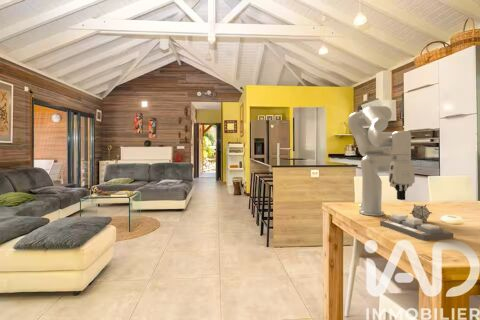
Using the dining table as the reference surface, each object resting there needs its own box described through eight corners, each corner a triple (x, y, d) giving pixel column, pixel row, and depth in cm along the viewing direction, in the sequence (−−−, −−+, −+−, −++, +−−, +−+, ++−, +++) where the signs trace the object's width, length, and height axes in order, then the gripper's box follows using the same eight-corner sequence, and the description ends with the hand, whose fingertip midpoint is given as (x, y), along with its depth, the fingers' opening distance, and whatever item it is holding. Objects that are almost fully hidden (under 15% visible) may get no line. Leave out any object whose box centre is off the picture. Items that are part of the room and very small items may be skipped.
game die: (422, 228, 144) (433, 211, 145) (426, 225, 136) (438, 208, 137) (404, 217, 148) (414, 201, 148) (407, 214, 140) (418, 197, 141)
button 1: (392, 218, 134) (392, 213, 134) (400, 217, 135) (400, 213, 135) (399, 220, 130) (399, 216, 130) (407, 220, 131) (407, 215, 131)
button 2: (420, 229, 119) (420, 224, 119) (429, 228, 120) (429, 223, 120) (430, 232, 114) (430, 227, 114) (439, 231, 115) (439, 226, 115)
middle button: (405, 222, 126) (405, 217, 126) (414, 221, 127) (414, 217, 127) (413, 225, 122) (413, 220, 122) (422, 224, 123) (422, 219, 123)
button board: (380, 224, 135) (380, 217, 135) (405, 223, 138) (406, 215, 138) (423, 240, 112) (423, 231, 112) (453, 238, 115) (453, 229, 115)
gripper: (392, 158, 126) (392, 201, 126) (422, 158, 130) (421, 200, 130) (380, 158, 134) (380, 199, 134) (408, 158, 137) (408, 198, 137)
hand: (401, 199), depth 132 cm, fingers closed
